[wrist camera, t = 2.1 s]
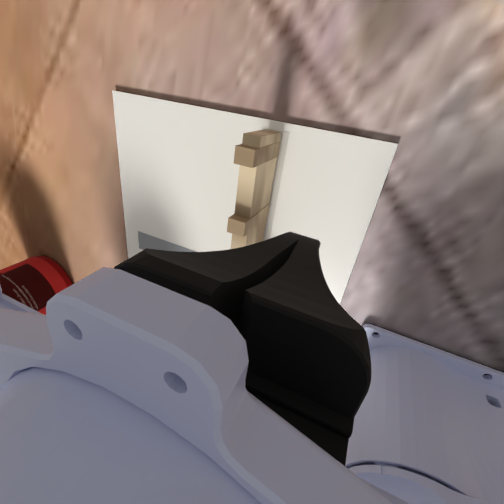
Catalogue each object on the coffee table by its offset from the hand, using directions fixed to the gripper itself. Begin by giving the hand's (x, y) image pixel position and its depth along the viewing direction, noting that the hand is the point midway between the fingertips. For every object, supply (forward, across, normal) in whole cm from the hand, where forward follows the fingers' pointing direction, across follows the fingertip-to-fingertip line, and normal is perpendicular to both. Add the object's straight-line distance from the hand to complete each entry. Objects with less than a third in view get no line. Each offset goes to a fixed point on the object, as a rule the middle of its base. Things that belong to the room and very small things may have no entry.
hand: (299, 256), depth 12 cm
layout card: (+8, +7, +4) cm, 12 cm away
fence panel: (+7, +4, +1) cm, 9 cm away
